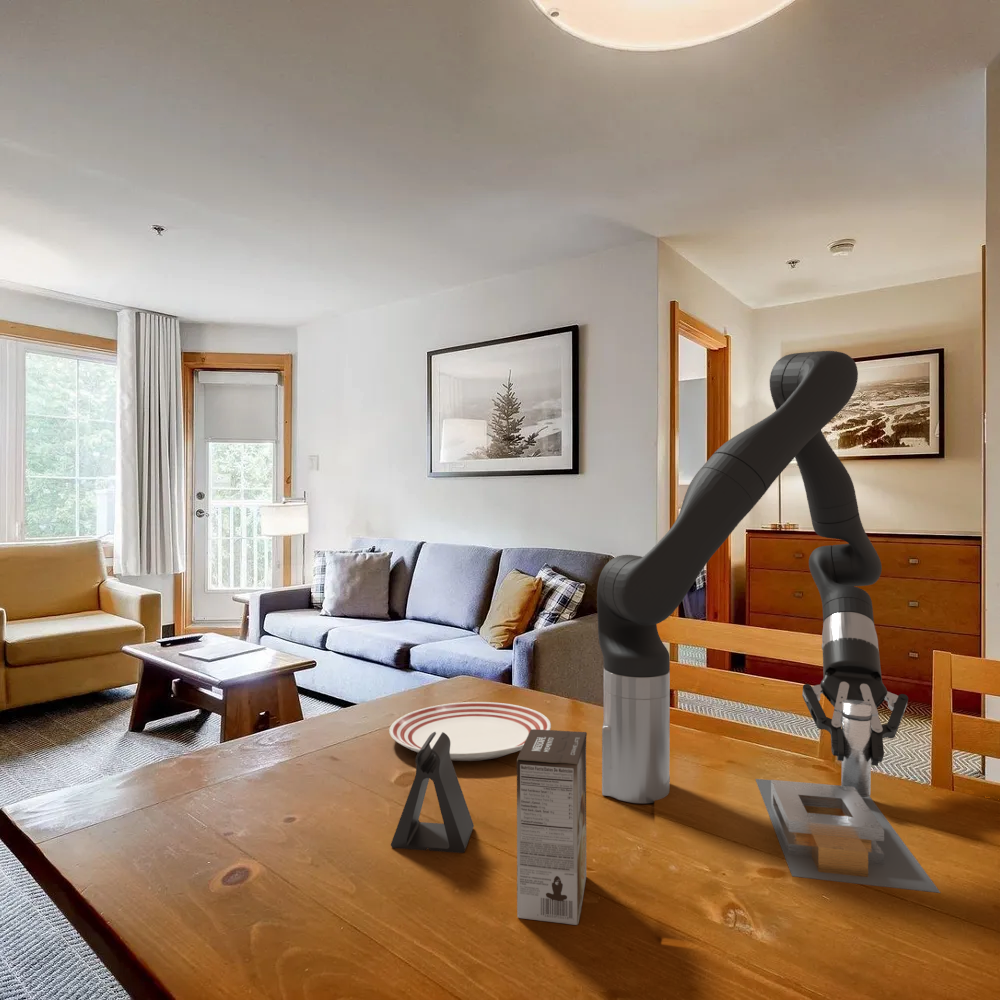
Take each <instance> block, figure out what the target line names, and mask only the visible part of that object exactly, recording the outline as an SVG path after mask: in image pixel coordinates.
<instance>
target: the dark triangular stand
mask: <svg viewBox="0 0 1000 1000" xmlns="http://www.w3.org/2000/svg"><path fill="white" fill-rule="evenodd" d="M435 735H436V732H433V733H432V734H431V735H430V736H429V737H428V739H427V740H426V742H425V743H424V745H423V746H422V748H421V749H420V751H419V752H417V754H416V755H415V759H414V760H415V768H416V769H415V777H414V779H413V781H412V785H411V787H410V790H409V793H408V796H407V798H406V802H405V803H404V807H403V810H402V813H401V815H400V817H399V820H398V824H397V827H396V829H395V832H394V834H393V836H392V837H393V838H392V841H391V844H390V846H391V848H392V849H399V850H400V849H403V850H415V851H427V850H428V851H430V852H431V851H432V852H440V853H441V852H442V853H455V854H457V853H458V854H463V853H465V851H466V849H467V846H468V843H469V840H470V837H471V835H472V832H473V829H474V827H475V825H474V821H473V819H472V816H471V813H470V810H469V807H468V804H467V802H466V799H465V796H464V794H463V790H462V788H461V785H460V782H459V779H458V775H457V773H456V770H455V767H454V764H453V760H451V758H450V739H449V737H448V736H447V735H446V734H445V733H443V732H442V734H441V735H440V737H439V738H438V740H437V742H436V743H435V745H434V746H433V748H432V749H431V747H430V742H431V741H432V739H433V738H434V736H435ZM430 780H431V781H432V783H433V786H434V790H435V794H436V798H437V802H438V805H439V810H440V814H441V817H442V822H443V823H439V822H424V821H423V822H422V821H420V820H419V819H420V815H421V812H422V808H423V804H424V801H425V796H426V792H427V789H428V785H429V781H430Z"/></svg>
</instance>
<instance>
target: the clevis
mask: <svg viewBox="0 0 1000 1000" xmlns="http://www.w3.org/2000/svg"><path fill="white" fill-rule="evenodd" d="M770 780H771V811H772V814H773V816H774V819H775V821H776V824H777V826H778V829H779V832H780V834H781V837H782V839H783V842H784V844H785V847H786V849H787V852H788V855H792V856H802V857H811V858H812V859H813V861H814V863H815V865H816V867H817V870H818V872H825V873H834V874H843V875H852V876H862V877H868V864H877V865H884V853H883V851H882V850H881V848H880V847H879V845H878V844H877V842H876V841H875V840H877V841H884V829H883V827H882V826H881V825H880V823H879V822H878V820H877V819H876V817H875V816H874V815H873V813H872V812H871V810H870V809H869V808H868V806H867V805H866V803H865V802H864V800H863V799H862V798H861V796H860V795H859V793H858V792H857V791H856V789H855V788H854V787H851V786H841V785H836V784H828V783H827V784H826V783H814V782H802V781H801V782H800V781H792V780H791V781H790V780H779V779H770Z"/></svg>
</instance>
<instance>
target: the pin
mask: <svg viewBox="0 0 1000 1000" xmlns="http://www.w3.org/2000/svg"><path fill="white" fill-rule="evenodd" d="M871 710H872V705H871V704H870V703H867V702H864V701H860V700H843V702H842V726H841V729H843V740H844V760H843V761H841V781H840V782H841V783H840V786H851V787H854V788H855V789H856V791H857V792H858V793H859V795H860V796H861V797H868V796H870V797H871V785H872V784H871V779H872V778H871V776H872V775H871V774H872V773H871V771H872V770H871V768H872V765H871V720H872V714H871Z"/></svg>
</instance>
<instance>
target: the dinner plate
mask: <svg viewBox="0 0 1000 1000" xmlns="http://www.w3.org/2000/svg"><path fill="white" fill-rule="evenodd" d="M532 729H536V730H552V723H551V721H550V718H548V717H547V716H546V715H544V714H543V713H542V712H540V711H537V710H535V709H531V708H529V707H526V706H521V705H518V704H512V703H503V702H493V701H491V702H490V701H465V702H463V701H462V702H451V703H444V704H443V703H442V704H438V705H431V706H427V707H423V708H420V709H416V710H414V711H410V712H409V713H406V714H404V715H402V716H401V717H399V718H397V719H396V720H394V721H393V722H392V724H391V725H390V727H389V730H388V732H389V735H390V737H391V738H392V739H393V740H394V741H395V742H396V743H398V744H399V745H401V746H403V747H405V748H406V749H409V750H411V751H412V752H413V751H414V752H416V753H418V752H419V751H420V749H421V748H422V746H423V745H424V743H425V742H426V740H427V739H428V737H429V736H430V735H431V734H432V733H433V732H436V735H435V736H434V738H433V739H432V741H431V742H430V747H431V749H432V748H433V746H434V745H435V743H436V742H437V740H438V738H439V737H440V735H441V734H442V732H443V733H445V734H446V735H447V736H448V737H449V739H450V758H451V761H457V762H458V761H460V762H473V761H475V762H476V761H486V760H491V759H497V758H501V757H504V756H508V755H510V754H513V753H517V752H521V750H522V747H523V745H524V743H525V741H526V739H527V737H528V734H529V732H530V730H532Z"/></svg>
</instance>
